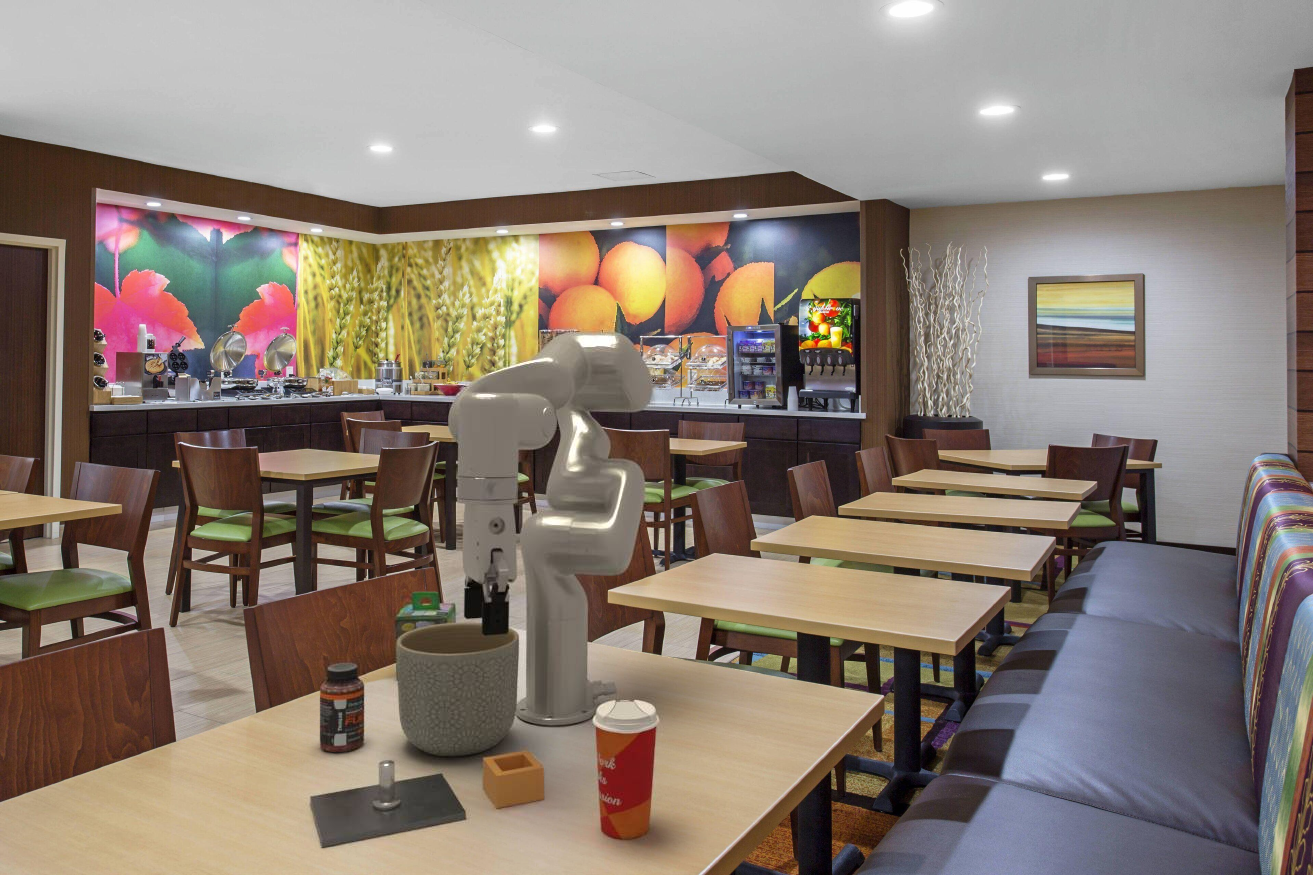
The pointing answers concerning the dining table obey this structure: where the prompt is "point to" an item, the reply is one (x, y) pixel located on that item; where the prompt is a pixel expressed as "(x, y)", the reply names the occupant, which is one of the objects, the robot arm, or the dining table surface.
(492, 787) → the orange square collar
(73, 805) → the dining table surface
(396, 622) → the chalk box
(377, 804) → the keeper plate
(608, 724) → the paper cup
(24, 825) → the dining table surface
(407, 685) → the planter
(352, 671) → the supplement bottle
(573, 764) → the dining table surface
